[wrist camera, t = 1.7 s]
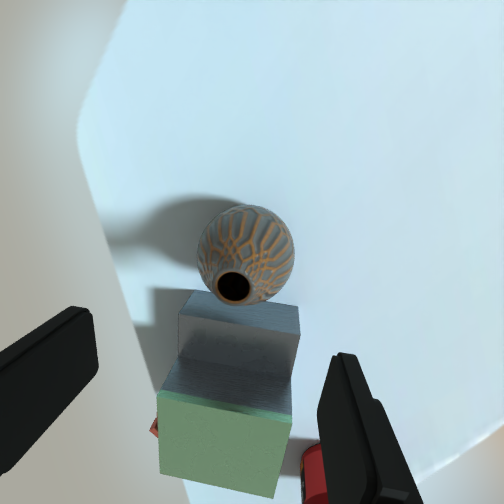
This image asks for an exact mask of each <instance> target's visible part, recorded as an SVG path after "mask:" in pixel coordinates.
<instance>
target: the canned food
mask: <svg viewBox="0 0 504 504" xmlns="http://www.w3.org/2000/svg"><path fill="white" fill-rule="evenodd" d="M300 475H301V497H302V504H329V502H328V495H327V488H326V480H325V473H324V466H323V458H322V451H321V444H317V445H314V446H312V447H310V448H309V449H308V450H306V451H305V453H304V454H303V456H302V460H301V464H300Z"/></svg>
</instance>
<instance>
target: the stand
mask: <svg viewBox="0 0 504 504" xmlns="http://www.w3.org/2000/svg"><path fill="white" fill-rule="evenodd" d="M299 339H300V324H299V313H298V307H296V306H290V305H284V304H278V303H272V302H266V301H264V302H262V303H259V304H255V305H248V306H229V305H226V304H224V303H222V302H221V301H220V300H218V299H217V297H216V296H215V295H214V294H213V293H211V292H205V291H199V290H194V292H193V293H192V295H191V296H190V298H189V299H188V301H187V302H186V304H185V305H184V306H183V308H182V309H181V311H180V312H179V314H178V358H177V360H176V361H175V363H174V365H173V367H172V369H171V371H170V373H169V374H168V376H167V378H166V380H165V382H164V384H163V386H162V387H161V389H160V391H159V393H158V395H157V418H155V420H154V422H153V424H152V426H151V428H150V430H149V431H150V432H152V433H153V434H154V435H155V436H156V437H157V438H158V441H159V463H160V474H164V475H169V476H174V477H178V478H182V479H187V480H191V481H195V482H200V483H204V484H209V485H213V486H218V487H222V488H227V489H231V490H236V491H240V492H245V493H249V494H254V495H258V496H262V497H267V498H271V499H273V497H274V493H275V489H276V486H277V482H278V478H279V474H280V470H281V466H282V462H283V458H284V454H285V450H286V446H287V442H288V438H289V434H290V430H291V427H292V399H291V374H292V370H293V366H294V361H295V357H296V353H297V348H298V344H299Z"/></svg>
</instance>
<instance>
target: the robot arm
mask: <svg viewBox="0 0 504 504" xmlns="http://www.w3.org/2000/svg"><path fill="white" fill-rule="evenodd" d="M98 368H99V364H98V357H97V348H96V341H95V332H94V324H93V316H92V314H91V313H90V311H89V310H88V309H87V308H82V307H76V306H70V307H68V308H66V309H65V310H64V311H62V312H60V313H59V314H57V315H56V316H54V317H53V318H51V319H50V320H48V321H47V322H45V323H44V324H42V325H41V326H39V327H37V328H36V329H34V330H33V331H31V332H30V333H28V334H27V335H25V336H24V337H22V338H21V339H19V340H18V341H16V342H15V343H13V344H12V345H10V346H9V347H7V348H6V349H4V350H3V351H1V352H0V476H1V475H2V474H3V473H6V472H8V471H9V470H10V469H11V468H12V467H14V465H15V464H16V463H17V462H18V461H19V460H20V459H21V458H22V457H23V455H24V454H25V453H26V452H27V451H28V450H29V449H30V448H31V447H32V445H33V444H34V443H35V442H36V441H37V440H38V439H39V438H40V436H41V435H42V434H43V433H44V432H45V431H46V430H47V429H48V427H49V426H50V425H51V424H52V423H53V422H54V421H55V420H56V419H57V417H58V416H59V415H60V414H61V413H62V412H63V411H64V409H66V407H67V406H68V405H69V404H70V403H71V402H72V401H73V400H74V399H75V397H76V396H77V395H78V394H79V393H80V392H81V391H82V390H83V388H84V387H85V386H86V385H87V384H88V383H89V382H90V380H92V378H93V377H94V376H95V375H96V373H97V371H98ZM317 422H318V429H319V436H320V444H321V451H322V458H323V466H324V473H325V480H326V488H327V495H328V502H329V504H423V501H422V498H421V496H420V494H419V491H418V489H417V486H416V484H415V482H414V479H413V477H412V474H411V472H410V470H409V467H408V465H407V462H406V460H405V458H404V455H403V453H402V451H401V448H400V446H399V443H398V441H397V439H396V436H395V434H394V431H393V429H392V427H391V424H390V422H389V419H388V417H387V415H386V412H385V410H384V408H383V406H382V404H381V402H380V401H379V400H378V399H373V397H372V395H371V392H370V390H369V387H368V384H367V382H366V379H365V377H364V374H363V372H362V369H361V366H360V364H359V361H358V359H357V357H356V355H353V354H347V353H342V352H339V353H338V354H337V356H334V355H333V356H332V358H331V362H330V366H329V369H328V373H327V376H326V380H325V383H324V387H323V390H322V394H321V397H320V401H319V404H318V408H317Z"/></svg>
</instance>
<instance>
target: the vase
mask: <svg viewBox="0 0 504 504" xmlns="http://www.w3.org/2000/svg"><path fill="white" fill-rule="evenodd" d="M294 257H295V252H294V244H293V240H292V236H291V234H290V232H289V229H288V228H287V226H286V225H285V223H284V222H283V221H282V220H281V219H280V218H279V217H278V216H277V215H276V214H274V213H273V212H271V211H270V210H268V209H265V208H263V207H259V206H255V205H240V206H235V207H232V208H230V209H227V210H225V211H223V212H222V213H220V214H219V215H217V216H216V217H215V218H214V219H213V220H212V221H211V222H210V223H209V224H208V225H207V227H206V228H205V230H204V232H203V234H202V236H201V238H200V242H199V245H198V251H197V264H198V269H199V273H200V275H201V278H202V280H203V282H204V283H205V285H206V286H207V288H208V289H209V290H210V291H211V292H212V293H213V294H214V295H215V296H216V297H217V299H218V300H220V301H221V302H222V303H224V304H226V305H229V306H248V305H255V304H259V303H262V302H264V301H266V300H268V299H270V298H271V297H273V296H274V295H275V294H277V293H278V292H279V291H280V290H281V288H282V287H283V286H284V285H285V283H286V282H287V280H288V278H289V276H290V274H291V272H292V268H293V265H294Z"/></svg>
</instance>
